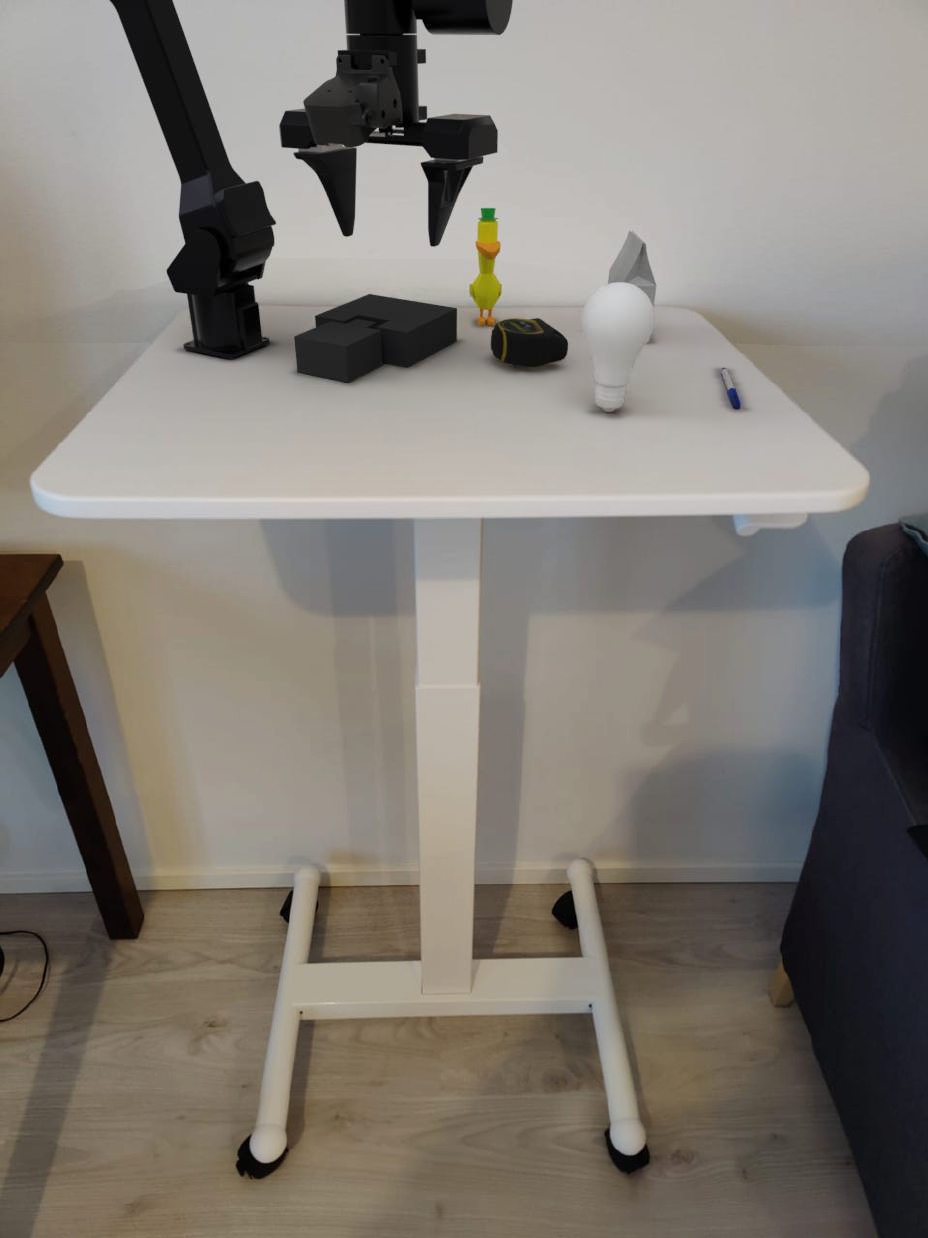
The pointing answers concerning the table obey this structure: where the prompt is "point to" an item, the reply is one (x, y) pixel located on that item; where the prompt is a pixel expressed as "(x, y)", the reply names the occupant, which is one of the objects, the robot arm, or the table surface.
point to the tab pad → (339, 350)
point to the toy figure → (486, 266)
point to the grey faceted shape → (634, 267)
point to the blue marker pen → (731, 389)
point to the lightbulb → (616, 337)
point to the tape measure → (527, 342)
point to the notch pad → (400, 326)
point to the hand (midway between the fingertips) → (390, 240)
